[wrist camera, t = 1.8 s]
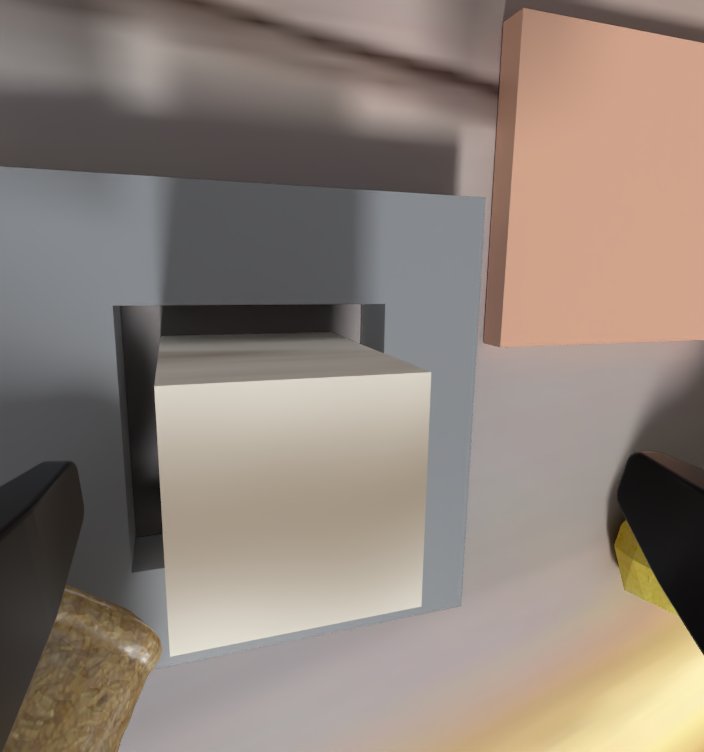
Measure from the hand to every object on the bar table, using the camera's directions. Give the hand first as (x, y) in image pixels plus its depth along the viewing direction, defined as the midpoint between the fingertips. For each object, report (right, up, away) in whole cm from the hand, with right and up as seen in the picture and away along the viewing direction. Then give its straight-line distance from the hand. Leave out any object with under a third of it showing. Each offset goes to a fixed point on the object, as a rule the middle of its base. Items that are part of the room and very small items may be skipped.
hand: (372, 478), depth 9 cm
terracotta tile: (+9, +8, +11) cm, 16 cm away
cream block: (-3, 0, +8) cm, 9 cm away
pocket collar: (-3, 0, +8) cm, 9 cm away
